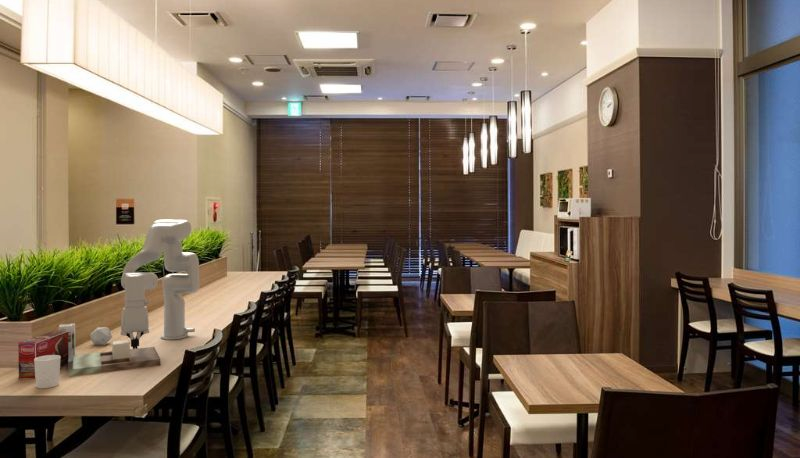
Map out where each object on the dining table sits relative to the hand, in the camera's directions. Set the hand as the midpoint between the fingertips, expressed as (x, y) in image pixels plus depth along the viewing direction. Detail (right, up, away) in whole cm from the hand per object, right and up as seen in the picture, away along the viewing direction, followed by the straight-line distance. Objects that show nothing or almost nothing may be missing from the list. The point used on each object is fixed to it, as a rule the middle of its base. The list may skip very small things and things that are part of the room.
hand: (134, 348), depth 225 cm
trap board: (-7, -6, -3) cm, 9 cm away
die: (-30, -5, +28) cm, 41 cm away
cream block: (-4, -3, -3) cm, 6 cm away
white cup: (-15, -6, -33) cm, 36 cm away
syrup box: (-30, -5, +3) cm, 31 cm away
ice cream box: (-28, -6, -15) cm, 32 cm away
